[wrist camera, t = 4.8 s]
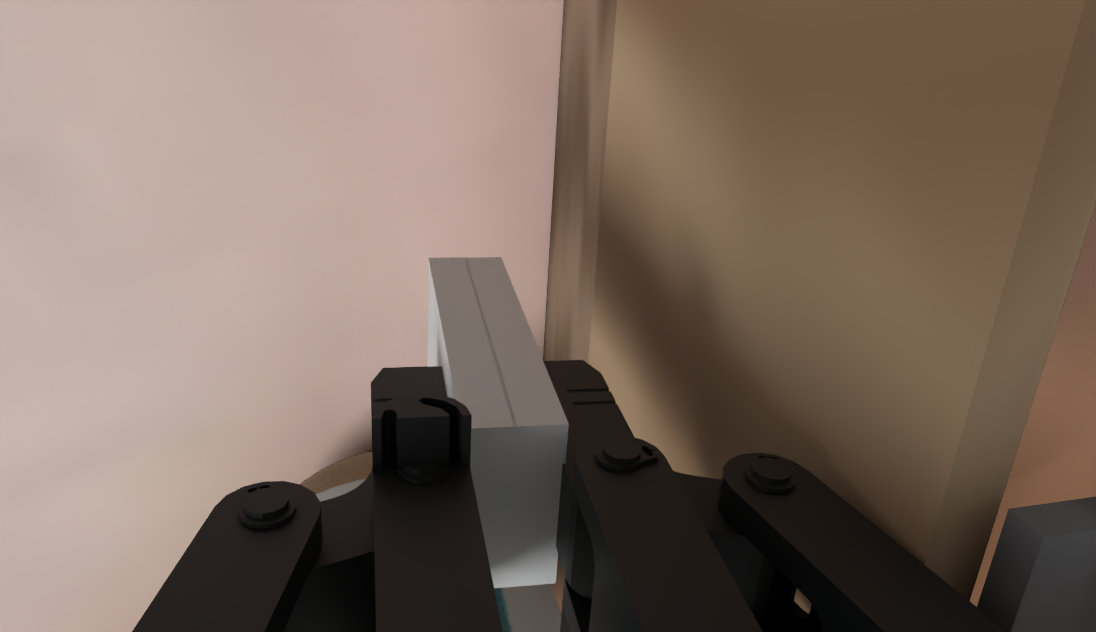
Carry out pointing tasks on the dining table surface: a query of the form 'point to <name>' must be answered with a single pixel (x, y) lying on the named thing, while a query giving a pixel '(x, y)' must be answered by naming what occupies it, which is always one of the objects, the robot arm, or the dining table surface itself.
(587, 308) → the box
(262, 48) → the dining table surface
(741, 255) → the lid
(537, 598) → the vase
